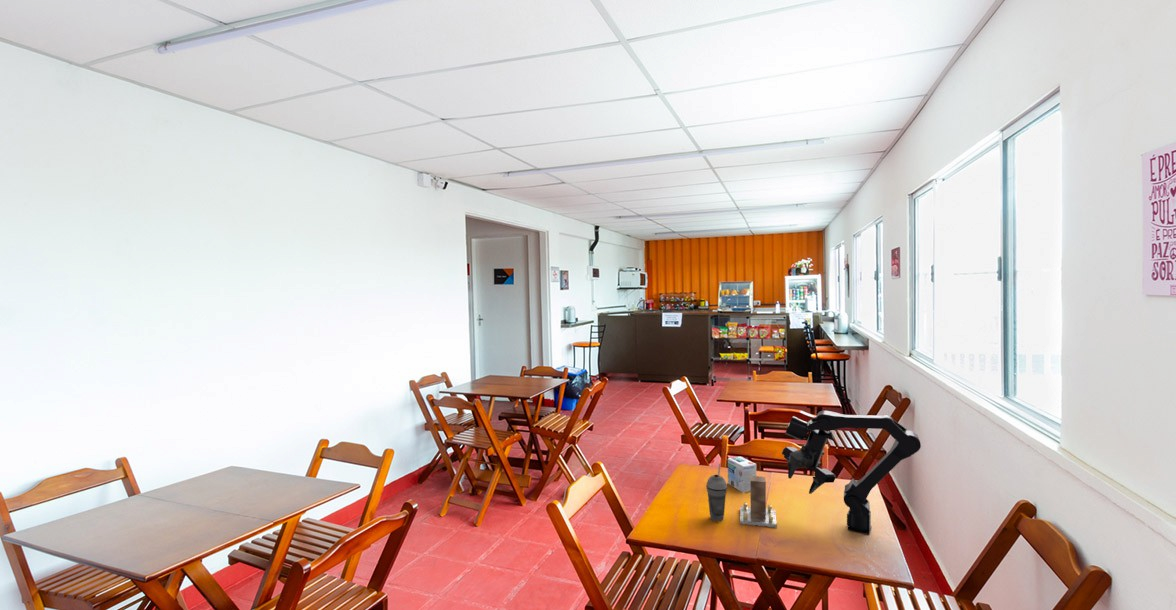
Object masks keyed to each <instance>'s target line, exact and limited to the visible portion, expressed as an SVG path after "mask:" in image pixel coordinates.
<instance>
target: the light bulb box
mask: <svg viewBox="0 0 1176 610" xmlns="http://www.w3.org/2000/svg"><path fill="white" fill-rule="evenodd" d="M750 476H757V463H755V462H753V461H751V460H749V459H747V458H745V457H743V456H735V457H729V458H727V485H729V486H732V487H733V488H735V489H737V491H739V492H741V493H743V492H744V493H750V492H749V491H750Z"/></svg>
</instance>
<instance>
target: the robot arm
mask: <svg viewBox="0 0 1176 610" xmlns="http://www.w3.org/2000/svg"><path fill="white" fill-rule="evenodd" d="M846 428H847V429H877V430H884V431H886V432H887V433H888V434H889V435H890V436H891V437H892V438H893V439H894V442H893V444H892V446H891V448H890V450H888V451H887V452H886V454H885V455H884V456H883V457H882V458H880V460H879V461H878V462H877V463H876V464H875V465H874V466H872V468H870V470H869V471H868V472H867V473H865V475H864V476H862V477H861V478H860V479H858V480H856V479H854V478H853V477H852V478H851V480H850V481H849V482H848V483H847V484H844V490H843V503H844V505H845V506H847V508H848V511H847V513H846V526H847V530H848V531H851V532H856V533H861V534H864V535H870V533H871V531H872V529H873V528H872V525H871V522H872V519H871V517H872V514H871V513H872V512H871V507H870V501H869V500H868V499H867V498H868V496H869V494H870V493H871V491H872V489H873V488H874V487H876V486H877V484H879V482H881V481H882V480H883V479H884V478H885V477H886V476H887V475H888V474H889V473H890V472H891V471H892V470H893V469H894V468H895V467H896V466H897V465H898V464H899V463H900V462H902V461H903V460H906V459H908V458H910V457H912V455H916V453H917V452H919V451H920V449H921V448H922V445H921V440H920V438H919V436H918V434H917V433H916V432H915V431H913V430H910V429H909V430H908V429H907V428H905V426H903V425H901V424H900V423H899V422H897V421H896V420H894V418H893V417H892V416H891V415H889V414H888V415H887V414H884V415H868V414H867V415H865V414H842V413H840V412H835V411H830V410H821V411H819V412H818V413H816V417H813V418H812V419H810V420H808V421H804V420H802V419H800V418H798V417H796V416H795V415H793V416H792V417H791V420H790V421H789V423H788V425H787V428H786V430H785V435H787V436H789V437H792V438H794V439H796V440H800V441H802V440H806V438H807V436H808V438H807V440H806V443H805V444H803V445H802V446H801V448H800V449H797V448H796V447H795V446H786V447H784V448H783V449H782V451H781V455H782V456H783V458H784V459H785V460H786V462H787V474H788V475H787V476H788V479H792V477H793V476H794V474H795V472H796V471H797V469H802V468H803V467H804V468H805V469H810V470H811V471H813V472H814V473H813V474H814V476H812V483H811V486H810V488H809V491H808V494H809V495H812V494H813V493H814V492H815V491H817V489H819V488H820V487H821V486H822V485H824V484H826V483H828V484H829V483H835V480H836V475H835V473H833V472H832V471H830V470H829V469H827V468H820V467H818V466H821V462H820V459H821V457H822V456H823V455H825V453H826V452H825V450H824V449H825V446H826V445H827V441H828V440H830V441H835V436H834V433H833V431H837V430H841V429H846ZM808 434H809V435H808Z"/></svg>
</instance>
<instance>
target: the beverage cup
mask: <svg viewBox="0 0 1176 610" xmlns="http://www.w3.org/2000/svg"><path fill="white" fill-rule="evenodd" d="M720 473H721V463H718V471H717V474H713V475H711V476H709V477H708V479H707V481H706V492H707V498H708V500H707V501H708V509H709V517H710V518H711V519H710V518H709V519H710V520H711V521H712V522H716V521H720V522H723V521H724V517H725V509H726V508H725V507H726V495H727V491H728V483H727V482H726V479H725V478H724V477H723V476H721V475H720ZM722 520H723V521H722Z"/></svg>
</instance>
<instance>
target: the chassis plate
mask: <svg viewBox="0 0 1176 610" xmlns="http://www.w3.org/2000/svg"><path fill="white" fill-rule="evenodd" d="M739 513H740V514H739V524H740V525H745V524H747V526H755V525H758V526H757V527H764V526H768V527H767V528H773V527H777V528H778V523H777V517H776V509H773V505H771V504H767V508H766V519H762V518H752V517H751V506H748V503H747V502H743V505H741V506H740V508H739Z"/></svg>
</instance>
